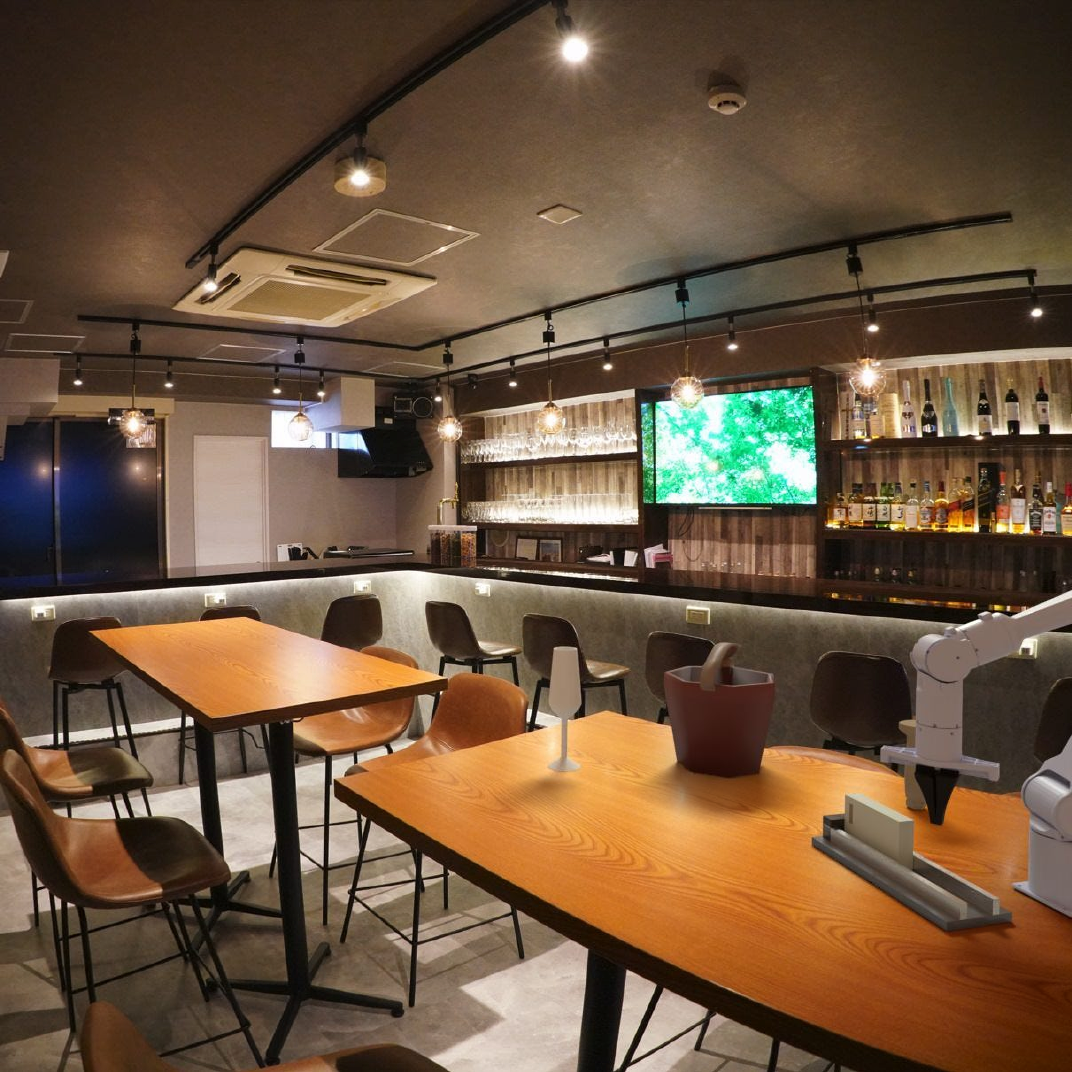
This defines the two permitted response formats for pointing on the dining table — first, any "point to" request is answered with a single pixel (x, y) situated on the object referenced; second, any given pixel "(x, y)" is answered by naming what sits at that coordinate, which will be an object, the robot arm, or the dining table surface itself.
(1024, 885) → the robot arm
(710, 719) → the bucket
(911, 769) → the handle
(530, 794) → the dining table surface
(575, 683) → the champagne flute
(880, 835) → the door panel
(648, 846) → the dining table surface
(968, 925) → the rail
